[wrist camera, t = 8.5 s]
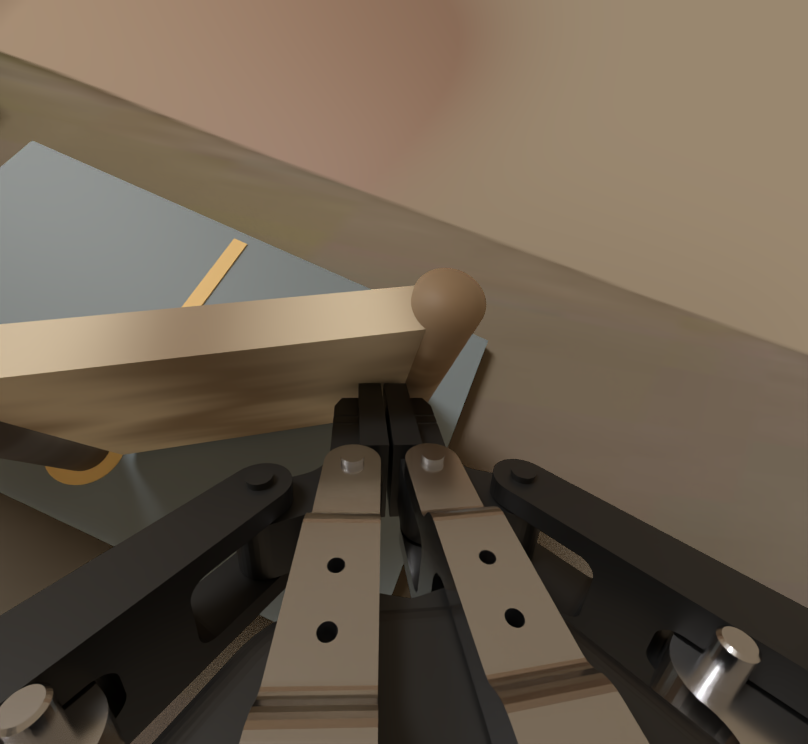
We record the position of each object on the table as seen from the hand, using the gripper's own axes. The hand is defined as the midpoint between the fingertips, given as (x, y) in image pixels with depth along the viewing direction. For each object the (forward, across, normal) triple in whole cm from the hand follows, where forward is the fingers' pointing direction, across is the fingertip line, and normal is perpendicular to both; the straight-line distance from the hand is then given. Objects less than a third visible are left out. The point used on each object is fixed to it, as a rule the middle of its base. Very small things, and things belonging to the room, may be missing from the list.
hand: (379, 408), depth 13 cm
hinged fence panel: (+3, +4, +2) cm, 5 cm away
